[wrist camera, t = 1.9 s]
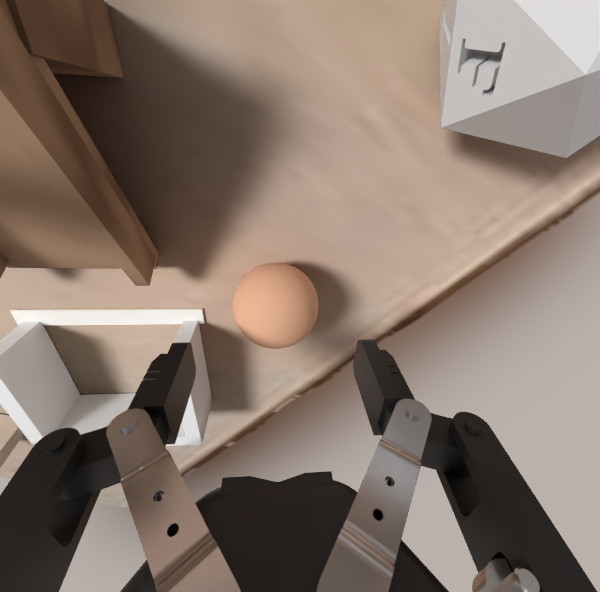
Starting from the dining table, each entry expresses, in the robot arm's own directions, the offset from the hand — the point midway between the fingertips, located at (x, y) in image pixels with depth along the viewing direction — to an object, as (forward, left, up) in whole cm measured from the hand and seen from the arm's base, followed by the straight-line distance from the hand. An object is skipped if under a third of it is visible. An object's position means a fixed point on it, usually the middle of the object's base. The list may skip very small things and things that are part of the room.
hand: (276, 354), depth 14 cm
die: (-13, +10, -6) cm, 18 cm away
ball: (0, 0, -4) cm, 4 cm away
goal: (+7, -11, -6) cm, 14 cm away
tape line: (+2, -11, -6) cm, 13 cm away
